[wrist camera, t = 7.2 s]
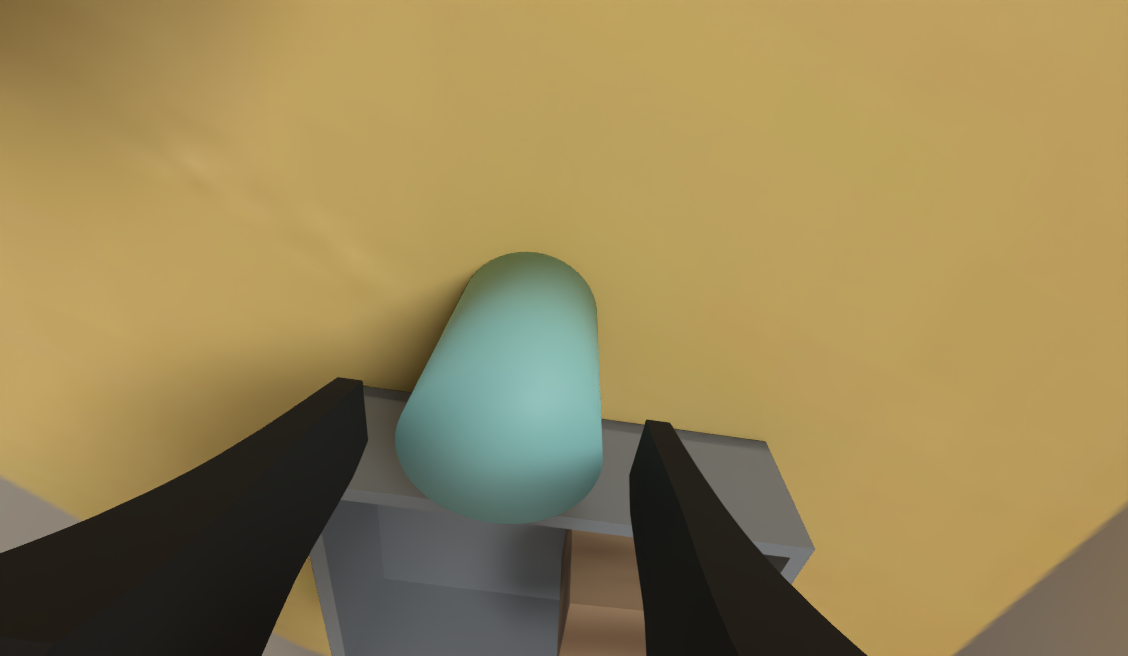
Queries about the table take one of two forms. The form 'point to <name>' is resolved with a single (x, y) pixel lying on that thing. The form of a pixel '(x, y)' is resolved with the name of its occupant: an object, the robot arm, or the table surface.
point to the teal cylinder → (510, 397)
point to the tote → (502, 546)
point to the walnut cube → (600, 597)
